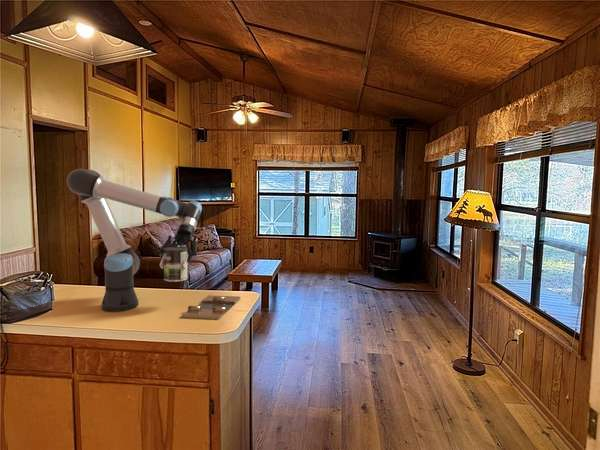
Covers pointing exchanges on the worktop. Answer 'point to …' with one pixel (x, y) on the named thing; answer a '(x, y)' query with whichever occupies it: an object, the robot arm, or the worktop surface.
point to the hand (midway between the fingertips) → (172, 267)
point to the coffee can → (174, 264)
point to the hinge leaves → (211, 307)
